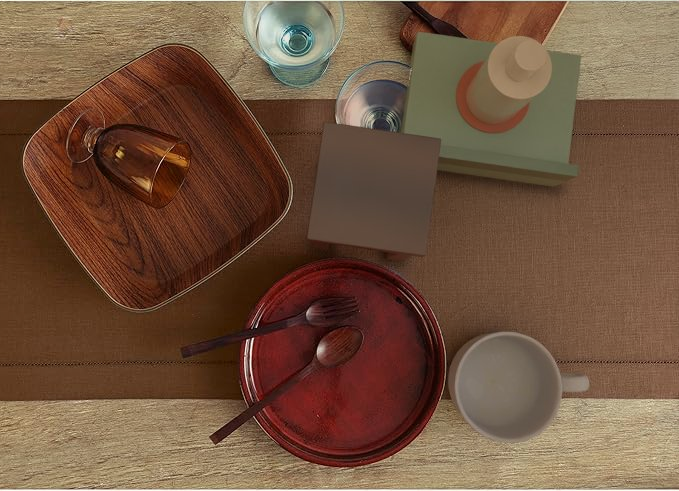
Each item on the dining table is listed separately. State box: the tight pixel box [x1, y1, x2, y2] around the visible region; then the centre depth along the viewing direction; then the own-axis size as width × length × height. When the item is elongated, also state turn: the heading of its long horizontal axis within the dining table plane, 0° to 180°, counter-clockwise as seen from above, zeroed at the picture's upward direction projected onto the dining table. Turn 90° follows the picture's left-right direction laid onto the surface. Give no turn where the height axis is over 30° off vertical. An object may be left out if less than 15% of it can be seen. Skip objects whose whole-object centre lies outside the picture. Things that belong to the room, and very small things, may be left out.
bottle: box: [466, 35, 552, 124], centre depth 59 cm, size 6×6×12 cm
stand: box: [306, 121, 441, 261], centre depth 60 cm, size 10×10×18 cm
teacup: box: [447, 331, 590, 445], centre depth 64 cm, size 14×11×8 cm
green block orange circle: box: [400, 31, 582, 188], centre depth 66 cm, size 14×18×7 cm
